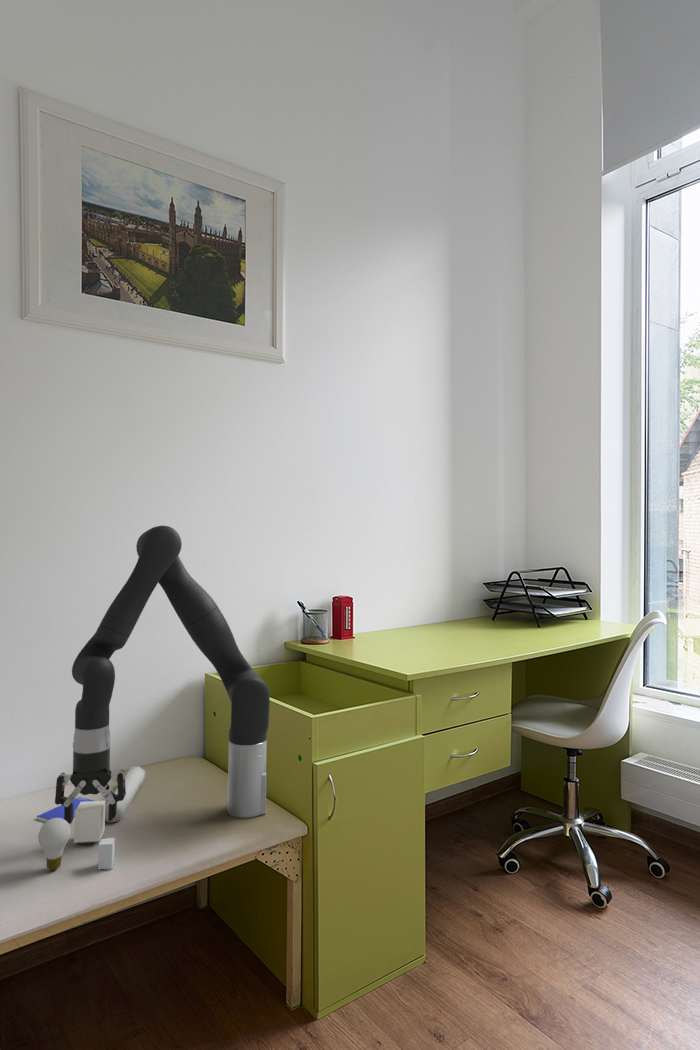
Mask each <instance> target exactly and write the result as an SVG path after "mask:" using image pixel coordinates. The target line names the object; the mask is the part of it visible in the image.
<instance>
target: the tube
mask: <svg viewBox="0 0 700 1050" xmlns="http://www.w3.org/2000/svg"><path fill="white" fill-rule="evenodd" d="M145 780H146V770H144V769H143V768H142V767H140V766H130V768H129V769H128V770H127V771H125V787H126V795H125V797H124V799H123V800H122V801H118V802H117V814H116V816H115V818H113V820H112V821H108V816H109V801H108V800H107V802H106V803H105V822H108V823H117V822H119V821H120V820H121V818H122V817H123V816H124V814H125V813H126V811H127V809H128V807H129V805H130V804H131V803H132V800H133V799H134V797H135V796H136V793H137V792H138V790H139V788H140V787H141V785H142V784H143V782H144V781H145ZM114 793H115V794H118V786H117V787H116V789H115V791H114Z"/></svg>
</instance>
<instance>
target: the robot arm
mask: <svg viewBox="0 0 700 1050" xmlns="http://www.w3.org/2000/svg"><path fill="white" fill-rule="evenodd" d="M137 539H138V540H137V542H136V545H135V546H136V547H135V548H136V554H137V556H138V558H137V561H136V563H135V566H134V568H133V570H132V572H131V574H130V575H129V577H128V579H127V580H126V582H125V583H124V585H123V586H122V588H121V589H120V591H119V592H118V593H117V595H116V596H115V598H114V599H113V601H112V602H111V604H110V605H109V607H108V609H107V610H106V612H105V614H104V616H103V617H102V619H101V621H100V623H99V625H98V627H97V629H96V631H95V633H94V634H93V635H92V636H91V637H90V639H89V640H88V641H87V642H86V643H85V644H84V646H83V647H82V649H81V650H80V651H79V652H78V654H77V656H76V657H75V659H74V662H73V664H72V668H71V675H72V676H71V677H72V679H74V681H75V683H77V684H79V685H81V686H82V693H81V699H80V700H78V701H77V703H76V705H75V708H74V732H73V742H72V751H73V752H72V774H66V773H65V772H61V773H60V774H59V775H58V776H57V777H56V785H55V798H54V804H56V805H60V806H61V805H63V806H64V820H66V821H67V822H68V824H69V825H71V824H72V823H73V803H72V801H73V800H74V799H76V798H77V796H78V795H79V794H81V795H82V796H87V795H98V794H99V793H100V794H101V795H102V797H103V798H105V799H106V800H107V802H108V801H109V816H108V821H112V820H113V818H115V816H116V814H117V802H118V801H122V800H123V799H124V797H125V795H126V787H125V775H126V771H125V770H124V769H120V770H119V771H115V772H114V771H113V772H112V771H111V767H110V766H111V763H110V761H111V757H110V756H111V728H110V703H111V700H112V696H113V693H114V692H113V691H114V688H115V680H116V671H115V666H114V664H113V662H112V661H111V660H110V659H111V657H112V656H113V654H114V653H115V652H116V651H118V650H121V649H123V648H124V647H125V646H126V644H127V643H128V640H129V639H130V636H131V634H132V633H133V630H134V628H135V627H136V625H137V623H138V621H139V619H140V617H141V615H142V613H143V611H144V609H145V607H146V605H147V602H148V600H149V599H150V597H151V596H152V593H153V592H154V590H155V588H157V585H158V584H159V586H160V587H161V588H162V590H163V592H164V593H165V595H166V597H167V599H168V601H169V603H170V604H171V607H172V608H173V610H174V612H175V614H176V615H177V617H178V619H180V622H181V624H182V625H183V627H184V628H185V630H186V632H187V633H188V635H189V636H190V638H191V640H192V641H193V643H194V644H195V645H196V646H197V648H198V649H199V650H200V652H201V653H202V654H203V655H204V656H205V657H206V659H208V661H209V663H211V665H212V666H213V668H214V669H215V670H216V672H217V674H218V676H219V678H220V679H221V682H222V684H223V687H224V688H225V691H226V693H227V695H228V698H229V701H230V702H231V708H230V711H231V714H230V728H229V730H228V756H227V757H228V759H227V761H228V763H227V764H228V765H227V767H228V768H227V802H226V803H227V805H226V806H227V810H226V811H227V813H228V815H230V816H231V817H235V818H240V819H241V818H242V819H244V818H246V819H248V818H254V817H257V816H260V815H266V814H267V736H268V730H269V725H270V723H269V722H270V704H271V703H270V701H271V700H270V699H271V698H270V690H269V686H268V685H267V683H266V681H264V680H263V678H262V677H261V676H260V675H259V674H258V673H257V672H256V671H255V670H254V669H253V667H252V666H251V665H250V663H249V662H248V661H247V659H246V658H245V657H244V655H243V654H242V652H241V651H240V648H239V647H238V645H237V642H236V639H235V637H234V634H233V632H232V630H231V628H230V625H229V623H228V621H227V620H226V618H225V616H224V614H223V613H222V611H221V609H220V608H219V606H218V605H217V603H216V602H215V600H214V599H213V598H212V596H211V595H210V594H209V593H208V592H207V591H206V590H205V589H204V588H203V587H202V585H200V584H199V583H198V582H197V581H196V580H195V579H194V578H193V577H192V576H191V574H189V572H188V570H187V569H186V567H185V565H184V563H183V561H182V560H181V558H180V553H181V550H182V538H181V536H180V534H179V532H178V531H177V530H176V529H174V528H173V527H171V526H170V525H169V526H168V525H157V526H154V527H152V528H151V527H150V528H149V529H147V530H146V531H144V532H143V533H142V534H141V535H140V536H139V538H137ZM111 779H113V780H114V783H115V784H117V787H118V794H115V793H114V792H115V791H114V790H113V788H112V786H111V785H110V783H109V782H110V781H111ZM69 781H70V782H71V784H72V785H73V787H74V789H73V790H72V792H71V793H70V794H69V795H68V796H65V788H66V786H67V784H68V783H69Z"/></svg>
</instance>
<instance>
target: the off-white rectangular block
mask: <svg viewBox="0 0 700 1050" xmlns="http://www.w3.org/2000/svg"><path fill="white" fill-rule="evenodd" d="M105 805H106V800H94V801H88V802H80V804H79V805H78V807H77V809H76V810H75V820H74V824H73V826H74V828H73V829H74V830H73V831H74V832H73V844H75V843H82V842H94V841H95V842H100V841H101V839H102V836H103V835H104V833H105V826H106V825H105V823H106V820H105Z"/></svg>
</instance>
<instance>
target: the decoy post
mask: <svg viewBox="0 0 700 1050" xmlns="http://www.w3.org/2000/svg"><path fill="white" fill-rule="evenodd" d="M98 843H99V844H98V853H97V854H98V857H97V858H98V859H97V862H98V863H97V867H98V868H97V870H98V869H107V870H112V869H113V867H114V865H115V847H116V846H115V843H116V838H115V837H109V838H108V837H107V838H101V839H100V841H99V842H98ZM113 864H114V865H113Z"/></svg>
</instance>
